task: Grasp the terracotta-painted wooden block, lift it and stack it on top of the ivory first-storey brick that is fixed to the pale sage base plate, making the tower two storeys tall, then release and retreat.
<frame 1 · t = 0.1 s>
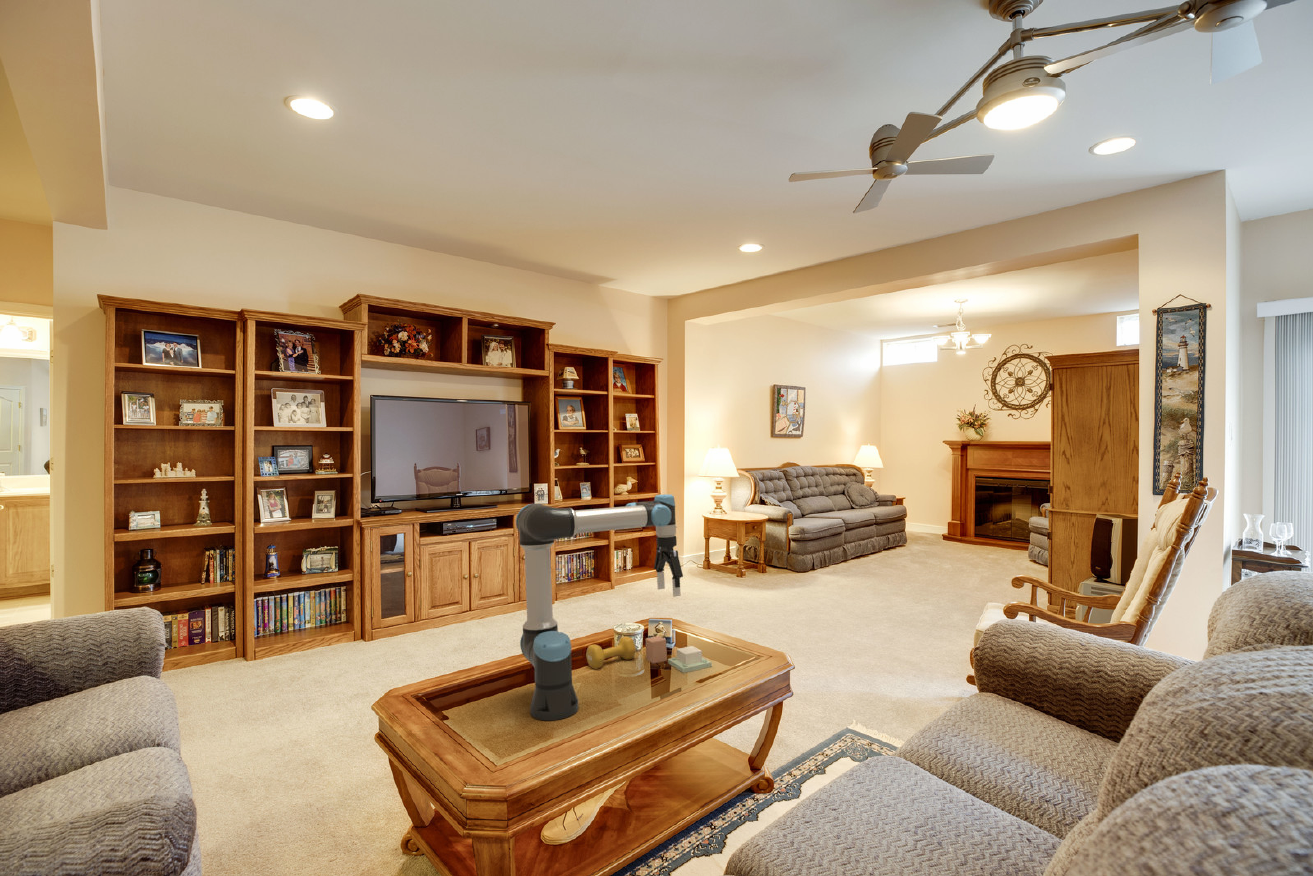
hand: (668, 592, 227), 28 cm above the table, fingers open, 13 cm apart
top brick: (656, 659, 235), on the table
dumbbell: (611, 663, 234), on the table
tower base: (689, 665, 228), on the table
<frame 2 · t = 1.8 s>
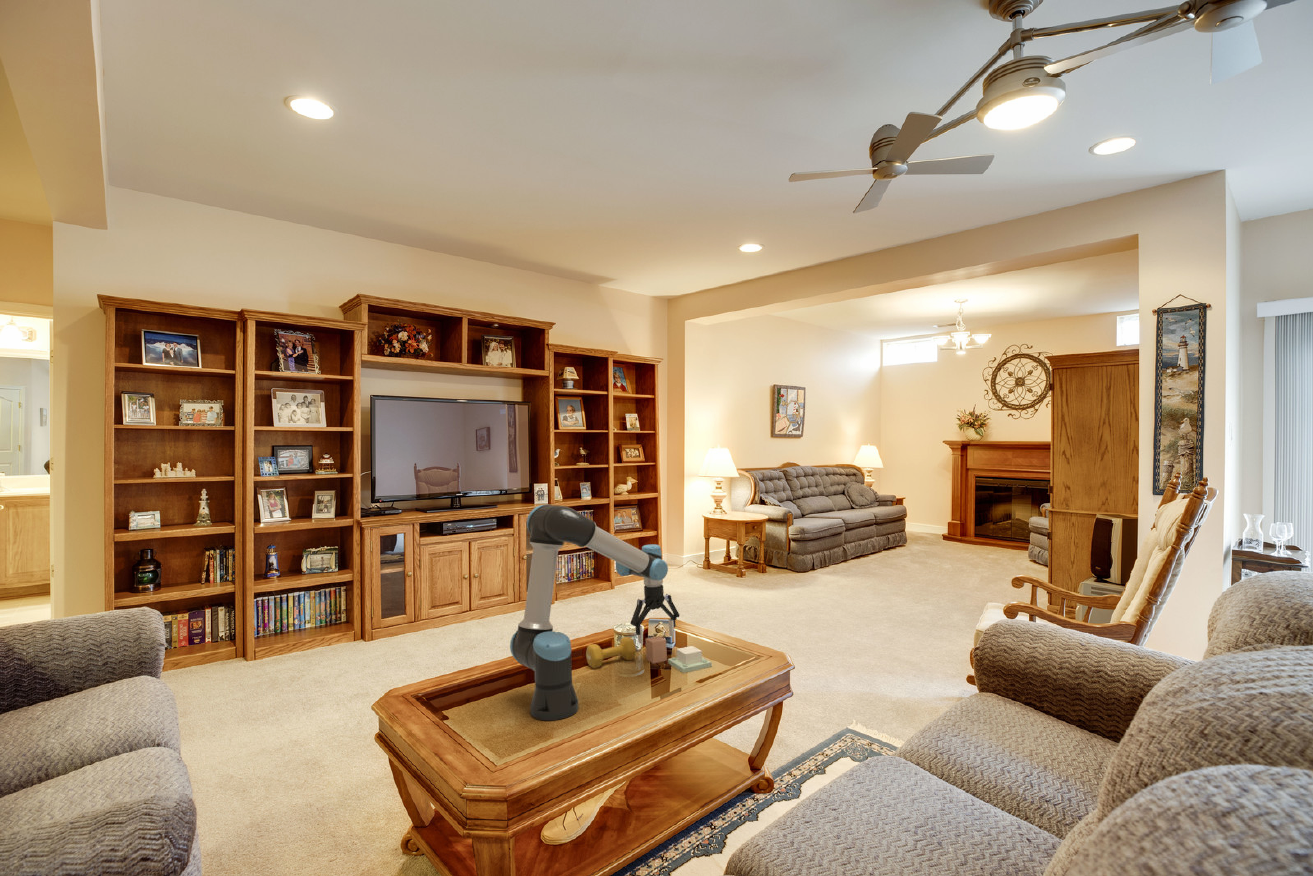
hand: (656, 639, 235), 8 cm above the table, fingers open, 13 cm apart
nothing on the table moved.
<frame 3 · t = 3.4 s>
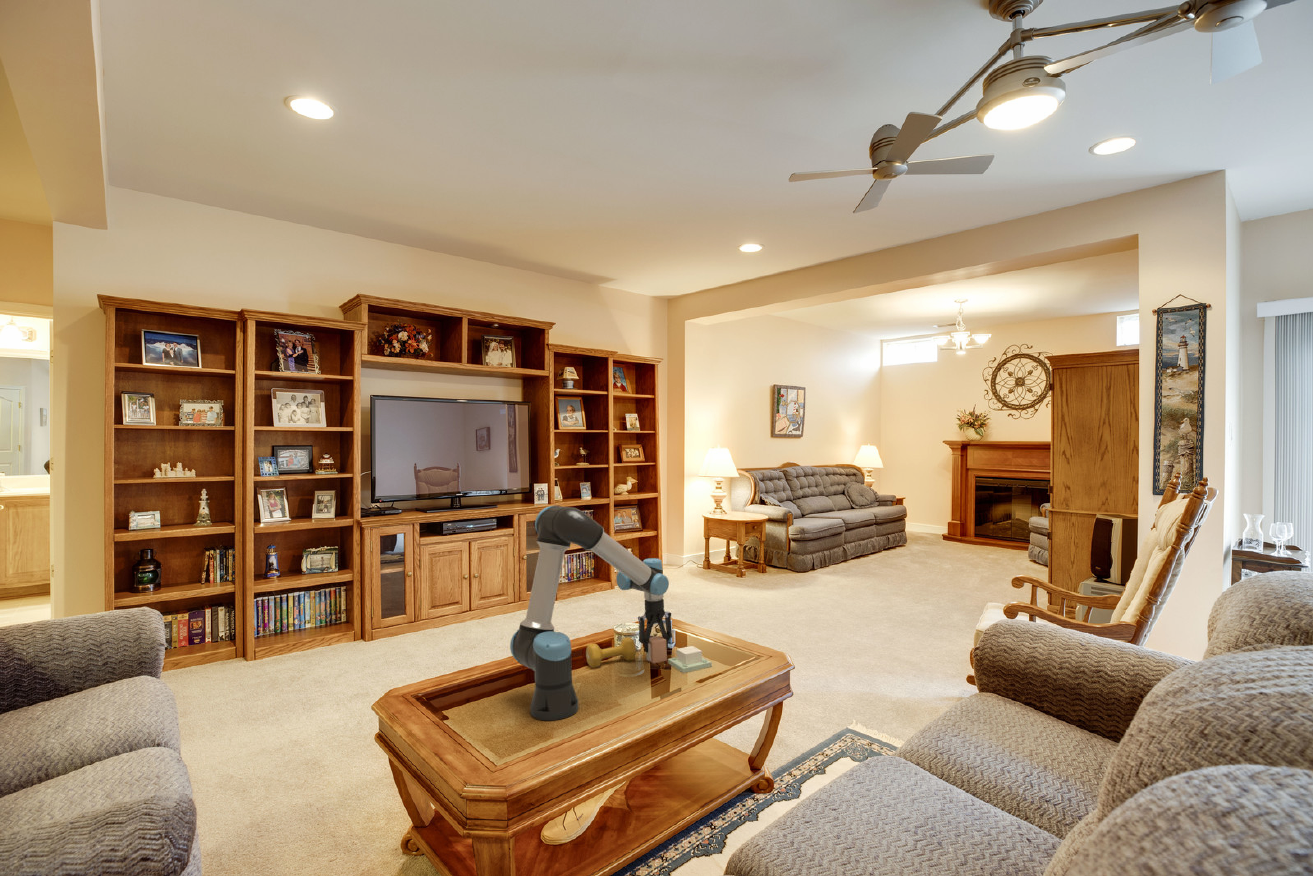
hand: (656, 658, 235), 0 cm above the table, fingers closed on top brick, 6 cm apart
top brick: (656, 659, 235), on the table, touching gripper
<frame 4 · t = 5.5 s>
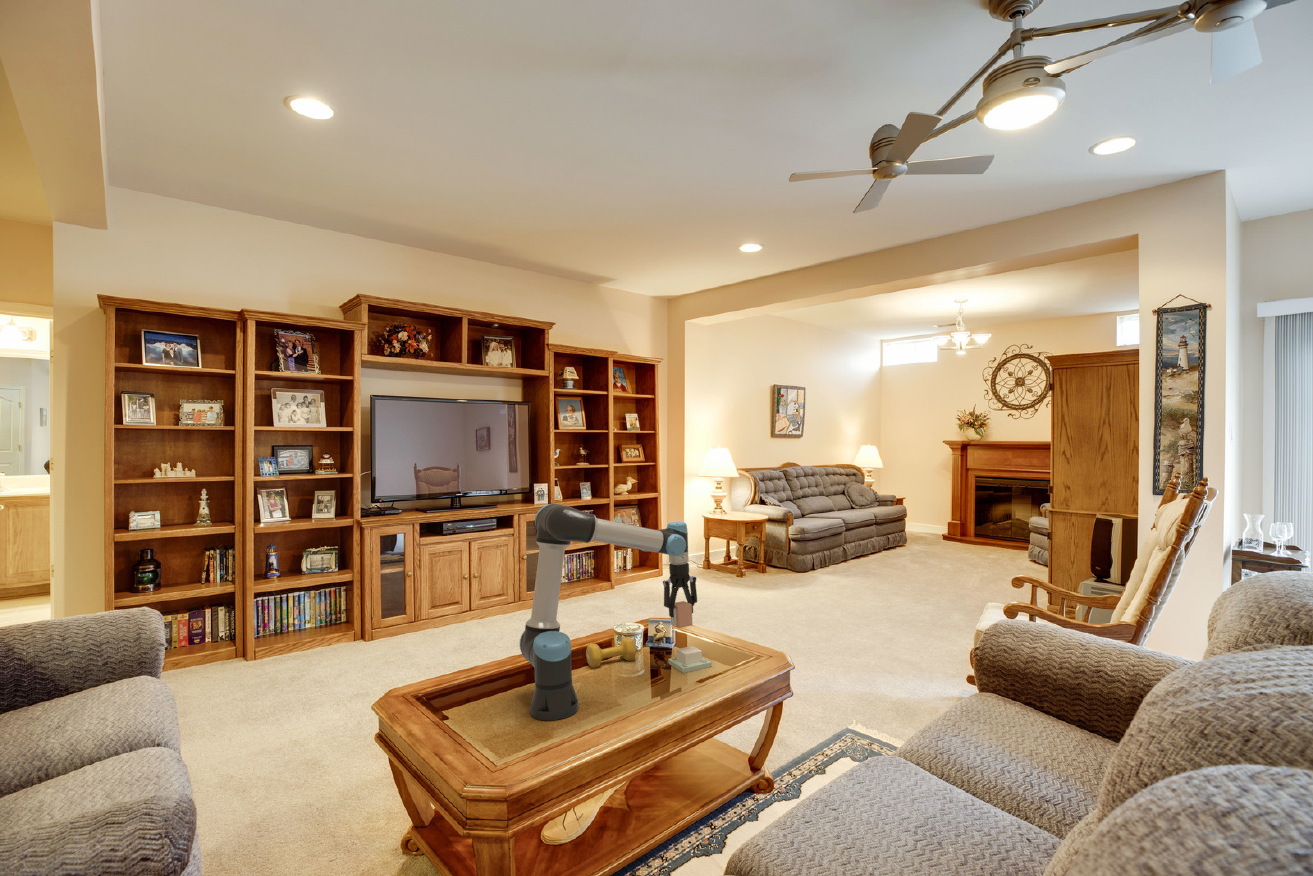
hand: (681, 623, 230), 15 cm above the table, fingers closed on top brick, 6 cm apart
top brick: (681, 624, 230), point 15 cm above the table, touching gripper
everything else where it was.
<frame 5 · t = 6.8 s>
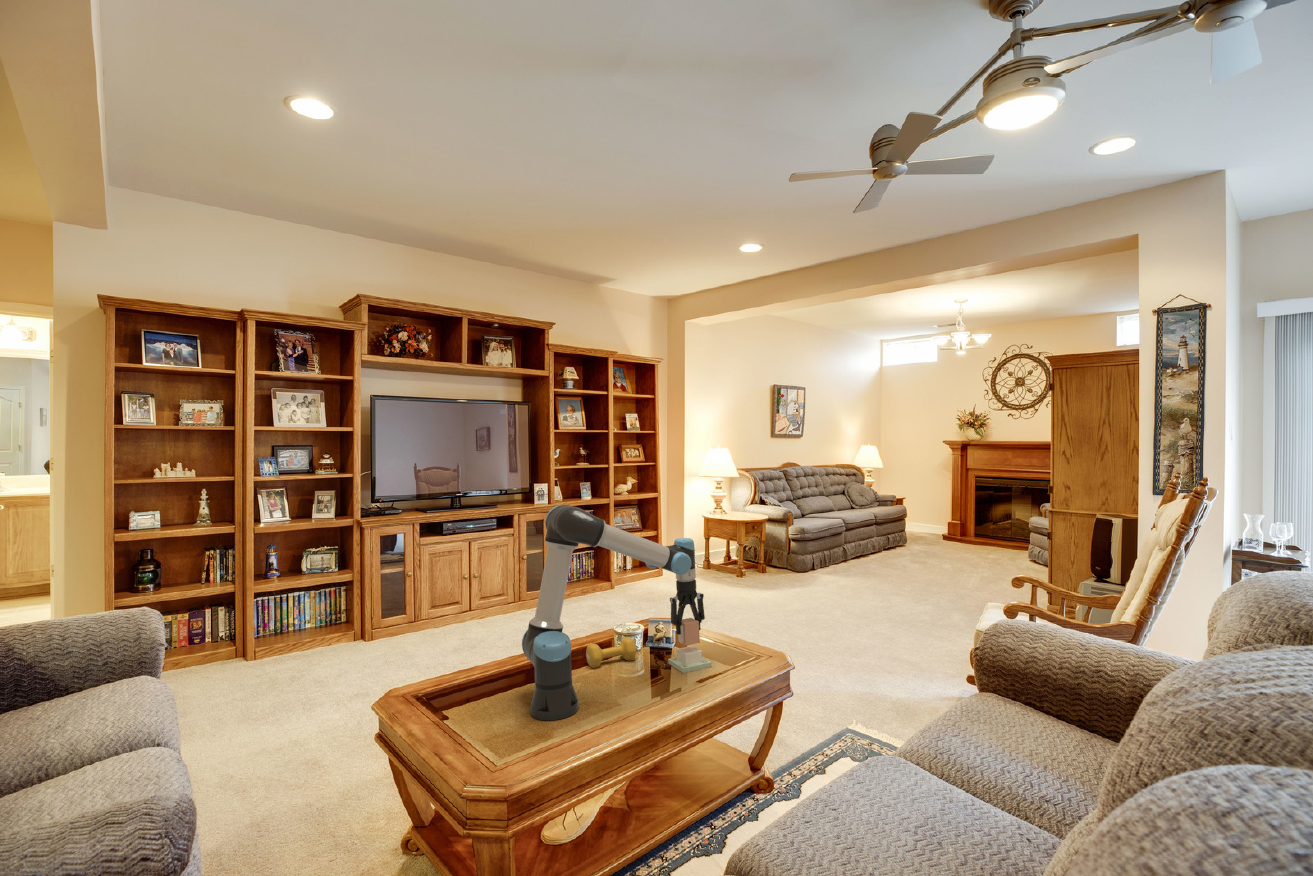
hand: (688, 640, 228), 9 cm above the table, fingers closed on top brick, 6 cm apart
top brick: (688, 642, 228), point 9 cm above the table, touching gripper
everything else where it was.
when the fingers open (8 cm above the table, at t = 7.8 s): top brick drops 2 cm, resting on tower base.
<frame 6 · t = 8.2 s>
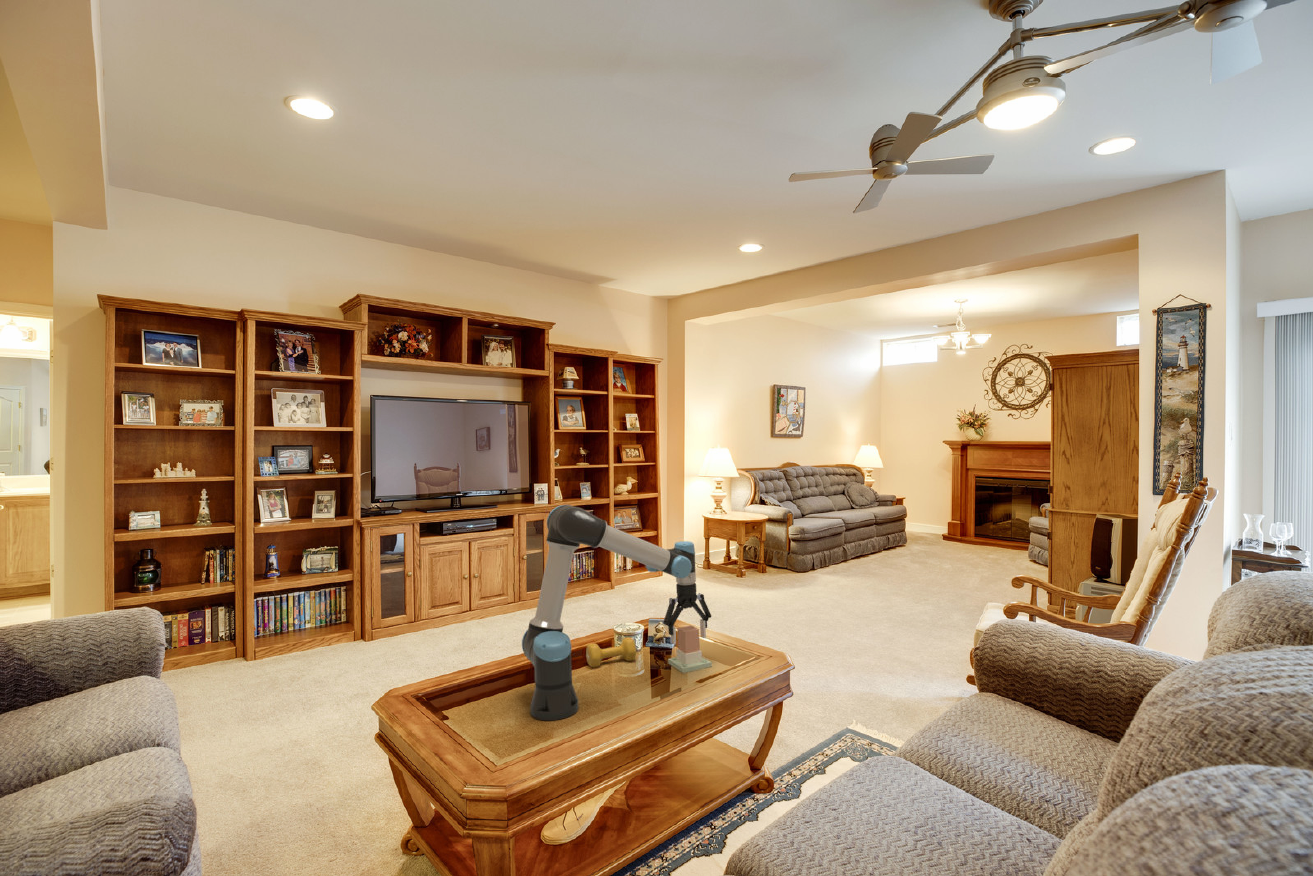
hand: (688, 640, 228), 9 cm above the table, fingers open, 12 cm apart
top brick: (688, 650, 228), point 6 cm above the table, touching tower base
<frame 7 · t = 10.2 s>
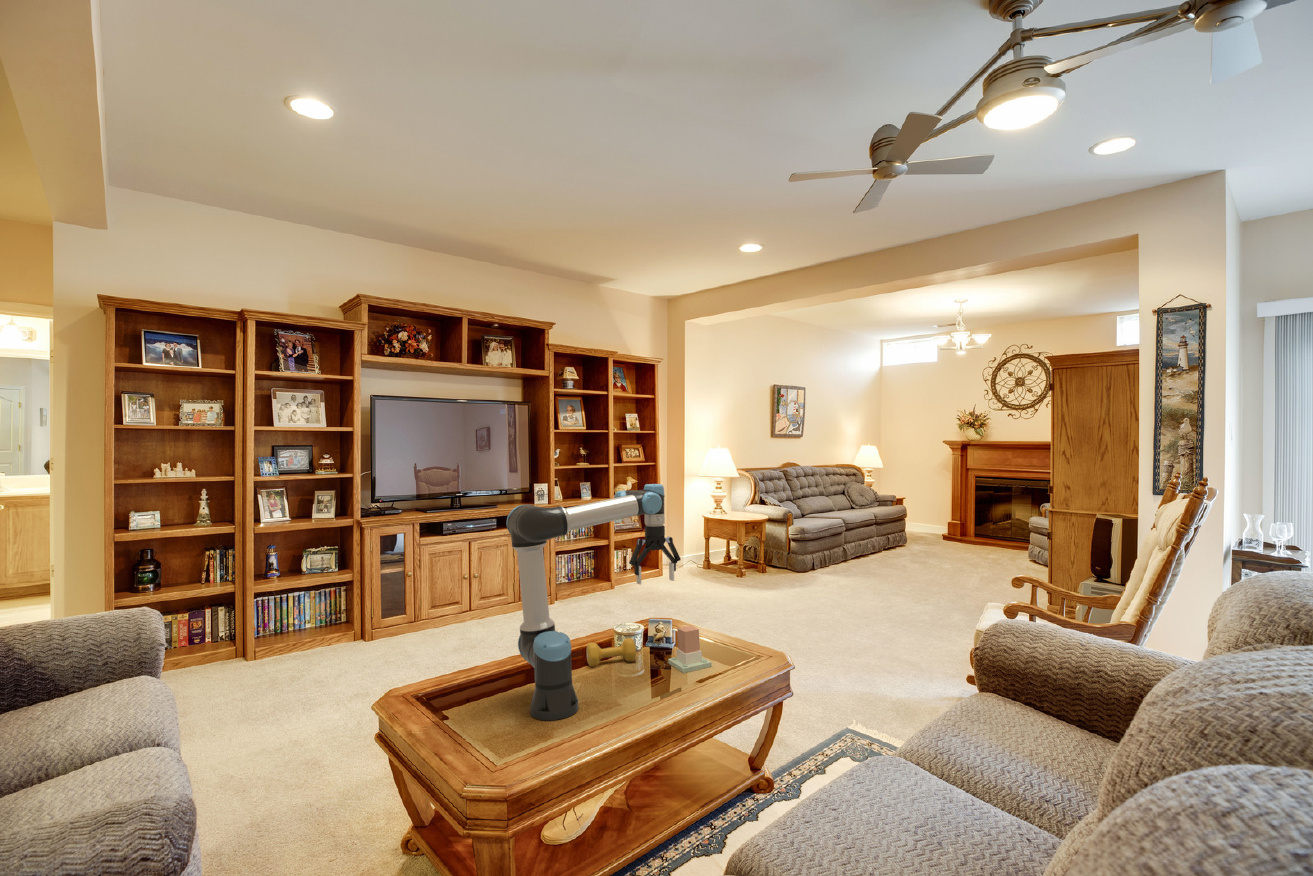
hand: (655, 582, 227), 32 cm above the table, fingers open, 13 cm apart
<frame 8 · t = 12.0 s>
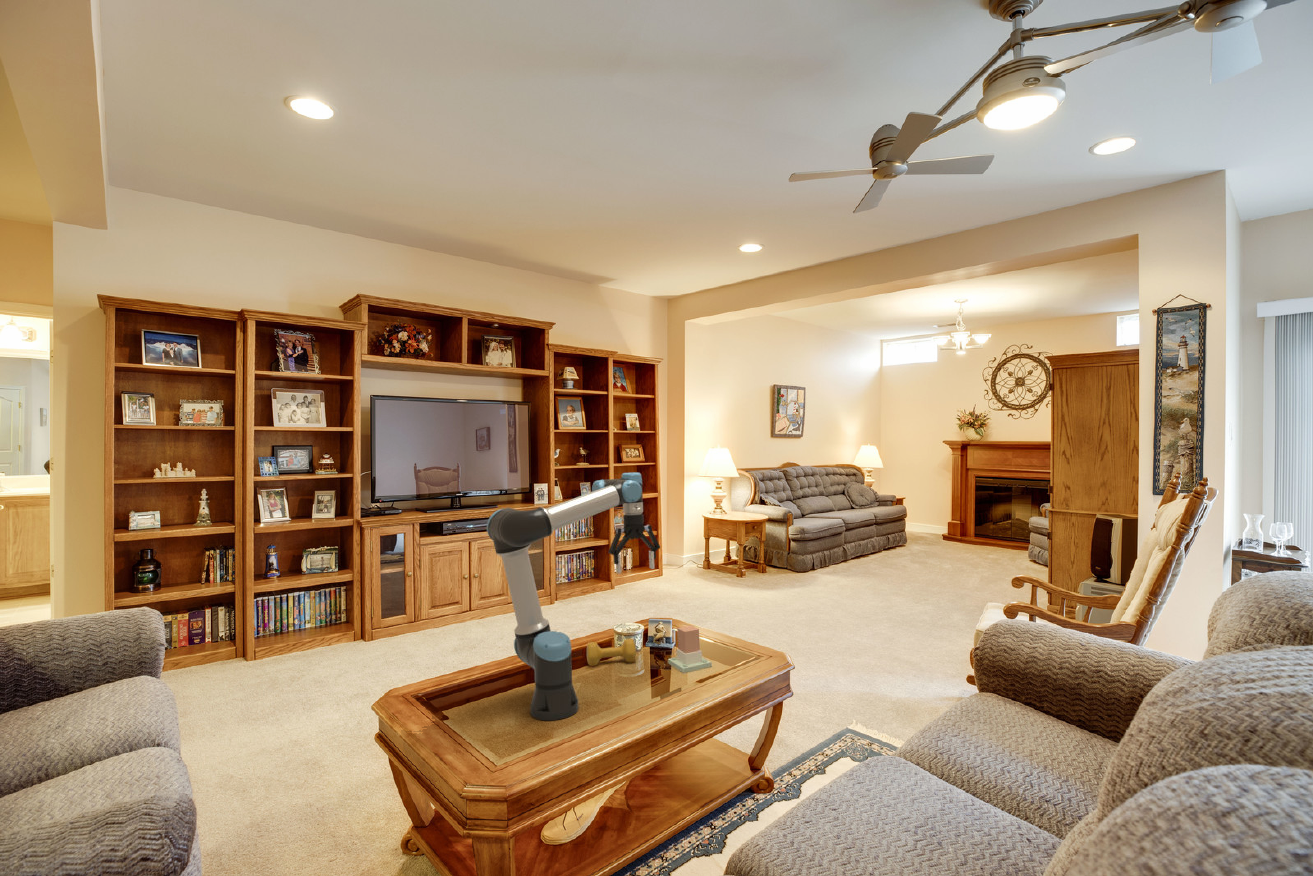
hand: (635, 570, 226), 37 cm above the table, fingers open, 13 cm apart
at the end: top brick 0.0 cm off-centre on the tower base, point 5.6 cm above the tower base's base; top brick tilted 0°; the gripper is holding nothing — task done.
